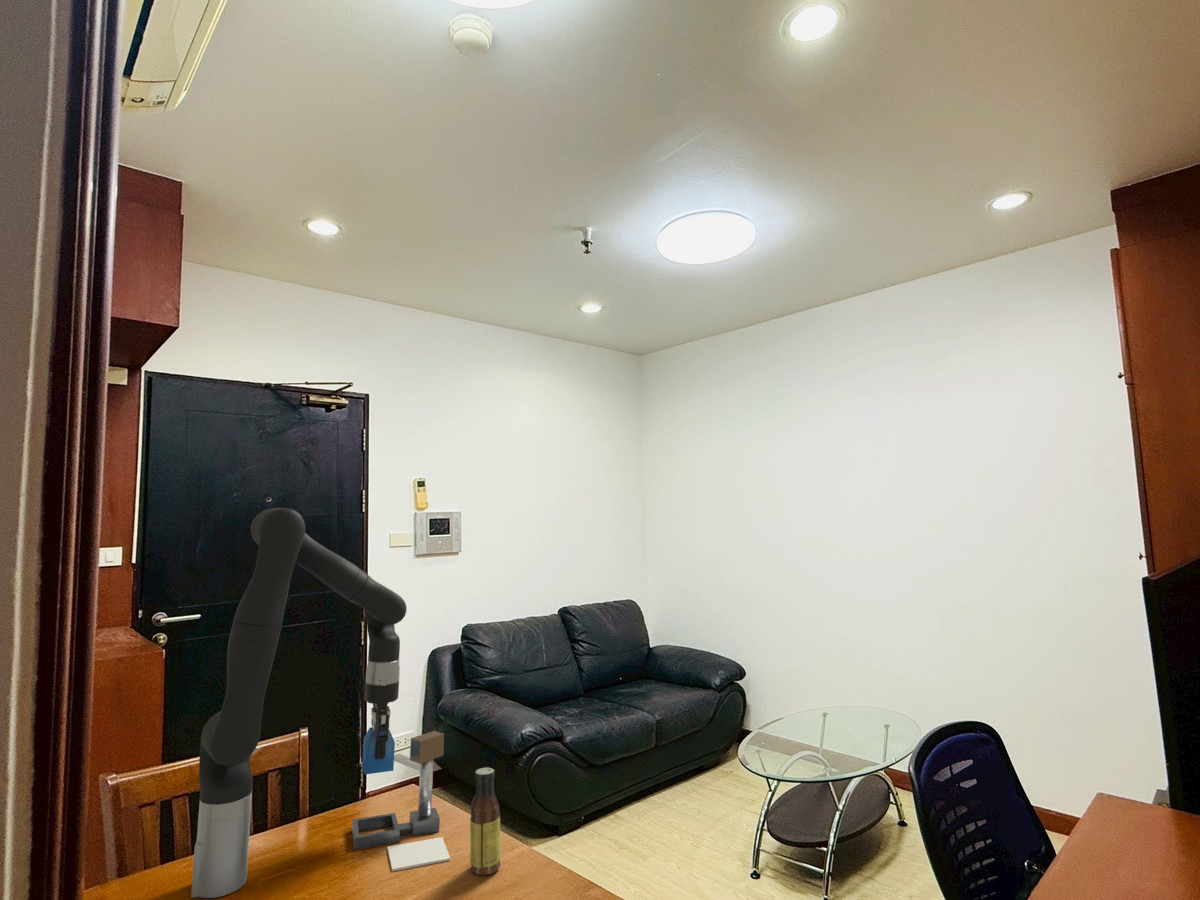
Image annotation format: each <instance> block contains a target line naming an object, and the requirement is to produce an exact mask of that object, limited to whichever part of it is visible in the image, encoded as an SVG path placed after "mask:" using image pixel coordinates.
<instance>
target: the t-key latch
mask: <svg viewBox="0 0 1200 900" xmlns="http://www.w3.org/2000/svg"><path fill="white" fill-rule="evenodd" d="M444 744H445V733H443V732H439V731H436V730H433V731H430V732H426V733H424V734H420V735H417V736H414V737H411V738H410V748H409V749H410V751H409V753H410V754H409V756H406V755H404V754H400V753H398V754H394V762H396V763H398V764H401V765H404V766H405V767H409V768H411V769H414V770H416V771H419V780H418V781H419V783H418V784H419V785H418V806H417V808H418V809H417V810H418V815H419V816H428V815H430V814H431V808H432V807H433V806H432V804H433V803H432V801H433V779H434V778H433V776H434V775H433V774H434V759H437V758H440V757H443V756H444V748H445V747H444V746H445V745H444Z"/></svg>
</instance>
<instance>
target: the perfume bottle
mask: <svg viewBox="0 0 1200 900" xmlns="http://www.w3.org/2000/svg"><path fill="white" fill-rule="evenodd" d="M372 725H373V722H372V723H371V726H372ZM383 735H384V731H381V732H379V736H383ZM375 743H376V742H375V732H374V731H373V727H368V730H367V731H366V733H365V735H364V737H363V745H362V761H361V762H362V764H361V766H362V768H363V769H362V770H363V773H364V775H370V774H371V775H372V774H379V773H389V772H393V771H394V766H395V761H394V755H395V746H396V745H395V744H396V742H395V738H393V735H392V732H391V730H390V728H389V729H388V741H386V749H385V758H383V759H375Z"/></svg>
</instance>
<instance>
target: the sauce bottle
mask: <svg viewBox="0 0 1200 900" xmlns="http://www.w3.org/2000/svg"><path fill="white" fill-rule="evenodd" d="M495 773H496V772H495V769H493V767H492V768H491V767H482V768H478V769H476V770H475V774H474V778H475V795H474V796H473V798H472V800H471V803H470V825H469V826H470V834H469V835H470V837H469V839H470V855H469V856H470V866H471V871H472V872H473V874H476V875H479V876H490V875H492V874H495V873H496V872H498V870H499V868H500V866H501V857H502V856H501V855H502V854H501V813H500V811H501V810H500V804H499V801H498V799H497V796H496V793H495V786H494V785H495V783H494V781H495V780H494V779H495V777H496V776H495V775H496V774H495Z"/></svg>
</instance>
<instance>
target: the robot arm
mask: <svg viewBox="0 0 1200 900" xmlns="http://www.w3.org/2000/svg"><path fill="white" fill-rule="evenodd" d="M250 533H251V537H252V538H253V541H254V542H255V543H256V544H257V545H258V552H257V555H256V563H255V567H254V571H253V574H252V577H251V580H250V582H249V584H248V586H247V587H246V589H245V590H244V594H243V595H242V597H241V598H240V600H239V601H240V602H239V604H238V606H237V608H236V610H235V613H234V616H233V617H234V618H233V620H232V621H233V622H232V626H231V629H230V634H229V637H228V642H227V643H228V644H227V652H226V654H227V655H226V691H225V695H224V700H223V704H222V707H221V710H220V711H218V712H217V713H215V714H214V715H212V716H211V717H210V718H209V719H208V720H207V722H206V723H205V725H204V727H203V728H202V732H201V735H200V741H199V742H200V744H199V764H198V765H199V766H198V782H199V783H198V784H199V806H198V808H199V809H198V819H197V833H196V842H195V845H194V849H193V850H194V851H193V852H194V854H193V862H192V863H193V867H192V878H191V880H192V881H191V895H190V898H193V899H194V898H200V899H201V898H202V899H215V898H221V897H224V896H226V895H229V894H232V893H234V892H236V891H238V890H239V889H241V888H242V887H243V886H244V885H246V883H247V878H248V868H249V867H248V864H249V863H248V862H249V849H250V848H249V847H250V833H251V832H250V831H251V818H252V817H251V816H252V798H253V784H254V783H253V782H254V780H253V779H254V778H253V774H252V769H251V768H252V767H251V756H252V754H253V753H254V752H255V750H256V749H257V747H258V744H259V741H260V738H261V737H260V736H261V732H262V731H261V730H262V729H261V728H262V721H263V712H264V711H263V710H264V705H265V704H264V702H265V697H266V693H267V692H266V691H267V687H268V683H269V680H270V677H271V676H270V675H271V672H272V669H273V668H272V667H273V664H274V660H275V656H276V651H277V648H278V644H279V640H280V635H281V632H282V627H283V623H284V616H285V611H286V605H287V600H288V597H289V596H288V595H289V590H290V584H291V578H292V574H293V571H294V568H295V564H296V565H298V566H299V567H300V568H303V569H304V570H305V571H307V572H309V573H310V574H312V576H314V577H315V578H317V579H318V580H319V581H320V582H322V583H323V584H324V585H326V586H328V587H329V588H330V589H331V590H333V591H334V592H336V593H337V594H338V595H340V596H341V597H342V598H344V599H345V600H347V601H348V602H350V603H352V604H354V605H356V606H359V607H361V608H363V609H364V610H365V618H366V619H365V620H366V626H367V627H366V628H367V635H368V640H369V642H368V654H367V655H368V657H367V665H366V669H365V670H366V671H365V685H364V686H365V688H364V701H365V702H366V703H368V704H372V705H373V706H372V707H371V710H370V711H371V712H370V713H371V718H370V719H371V723H370V724H371V726H372V727H373V731H374V732H375V742H376V743H375V759H383V758H385V749H386V741H388V729H389V730H390V718H391V709H390V706H388V705H389V704H390V703H393V702H396V701H397V700H398V698H399V691H400V687H399V686H400V667H401V666H400V651H401V648H400V646H401V639H400V637H399V635H398V634H397V633H396V630H395V629H396V628H395V625H396V624H398V623H400V622H401V621H402V620H403V619H404V618H405V616H406V615H407V605H406V602H405V600H404V599H403V597H402V596H401V595H399V594H398V593H396V592H395V591H393V590H391V589H390V588H388V587H387V586H385V585H383V584H382V583H380V582H378V581H376V580H375V579H373V578H372V577H371V576H370V575H369V574H367V573H366V572H365V571H364V570H362V569H361V568H359V567H358V566H357V565H356V564H354V563H352V562H351V561H349V560H348V559H346V558H344V557H342V556H341V555H339V554H338V553H335V552H334V551H332V550H330V549H328V548H326V547H325V546H324V545H322V544H320V543H319V542H317V541H316V540H314V539H313V538H312V537H311V536H310V535H309V534H307V533H306V523H305V520H304V517H302V515H301V514H300V513H299V512H298V511H296V510H295V509H292V508H287V507H272V508H267V509H265V510H262V511H261V512H259V513H257V514H256V516H255V517H254V518H253V519H252V522H251V525H250ZM372 722H373V725H372ZM381 731H384V735H383V736H379V732H381Z"/></svg>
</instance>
